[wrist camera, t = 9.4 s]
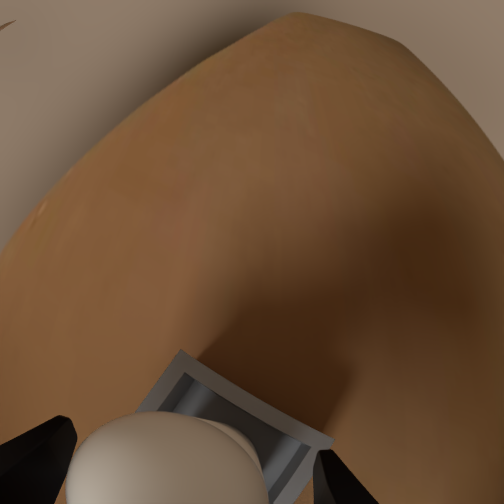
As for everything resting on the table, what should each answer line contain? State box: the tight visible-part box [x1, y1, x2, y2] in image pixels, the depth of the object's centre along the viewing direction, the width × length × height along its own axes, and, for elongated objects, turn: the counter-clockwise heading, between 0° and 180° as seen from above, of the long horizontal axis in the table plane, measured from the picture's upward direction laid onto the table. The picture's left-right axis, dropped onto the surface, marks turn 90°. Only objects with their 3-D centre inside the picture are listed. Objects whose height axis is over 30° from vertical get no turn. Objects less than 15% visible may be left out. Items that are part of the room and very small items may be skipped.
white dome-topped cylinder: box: [66, 411, 269, 504], centre depth 9 cm, size 5×5×12 cm
